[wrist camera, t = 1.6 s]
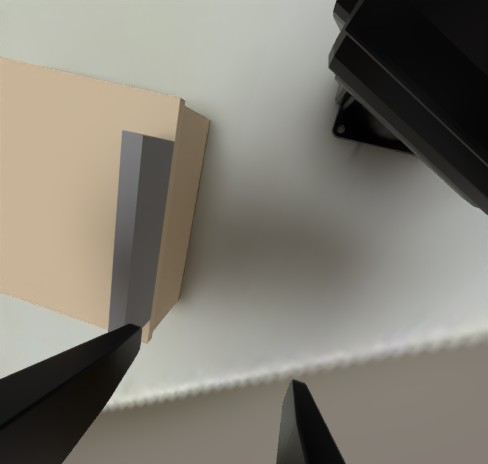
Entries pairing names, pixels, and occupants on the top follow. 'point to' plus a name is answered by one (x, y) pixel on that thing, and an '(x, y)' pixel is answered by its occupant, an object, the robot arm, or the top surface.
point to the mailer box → (181, 209)
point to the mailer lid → (85, 193)
